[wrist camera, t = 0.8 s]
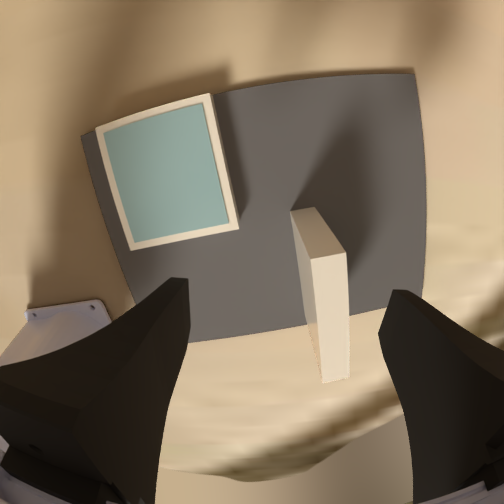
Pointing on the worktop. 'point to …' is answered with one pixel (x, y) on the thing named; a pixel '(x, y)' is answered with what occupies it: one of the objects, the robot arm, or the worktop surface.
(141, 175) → the tile
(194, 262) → the mat
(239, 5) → the worktop surface
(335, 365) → the tile
